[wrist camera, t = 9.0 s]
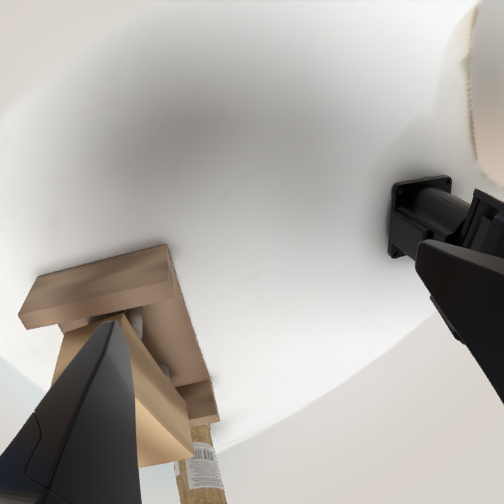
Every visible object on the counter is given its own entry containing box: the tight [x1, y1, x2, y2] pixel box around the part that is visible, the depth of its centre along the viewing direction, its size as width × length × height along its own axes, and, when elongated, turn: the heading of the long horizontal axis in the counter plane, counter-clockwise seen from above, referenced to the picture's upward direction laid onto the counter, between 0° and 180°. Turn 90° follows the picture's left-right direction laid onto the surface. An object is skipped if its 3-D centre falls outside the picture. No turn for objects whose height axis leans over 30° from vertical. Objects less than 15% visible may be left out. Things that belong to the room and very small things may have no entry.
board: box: [51, 313, 195, 468], centre depth 18 cm, size 4×10×5 cm, turn 15°
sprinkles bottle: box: [173, 424, 227, 504], centre depth 25 cm, size 5×5×14 cm
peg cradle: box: [18, 244, 220, 427], centre depth 21 cm, size 10×14×4 cm
